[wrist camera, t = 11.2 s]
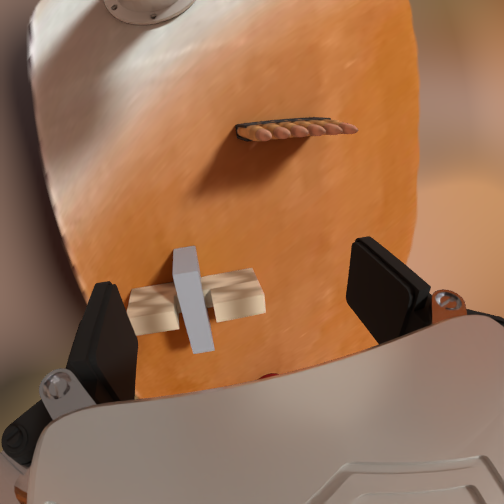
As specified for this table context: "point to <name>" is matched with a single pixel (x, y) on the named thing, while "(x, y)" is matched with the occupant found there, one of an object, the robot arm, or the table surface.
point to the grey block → (192, 299)
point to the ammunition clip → (292, 128)
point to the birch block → (215, 294)
